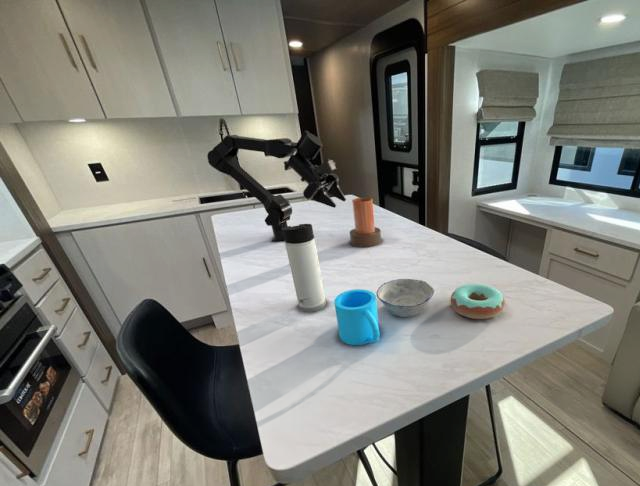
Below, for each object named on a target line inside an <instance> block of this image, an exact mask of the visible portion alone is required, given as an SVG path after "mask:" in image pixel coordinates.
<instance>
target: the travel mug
mask: <svg viewBox="0 0 640 486" xmlns="http://www.w3.org/2000/svg"><path fill="white" fill-rule="evenodd" d="M282 231H283V235H284V245H285V250H286V254H287V260H288V264H289V268H290V273H291V277H292V281H293V285H294V291H295V295H296V300H297V304H298V308H299V309H300V310H301V311H302V312H307V313H310V312H311V313H313V312H316V311H319V310H322V309H323V308H324V307H325V306H326V298H325V291H324V284H323V279H322V274H321V273H322V272H321V268H320V263H319V257H318V256H319V255H318V251H317V244H316V240H315V236H314V229H313V225H312V223H301V224H300V223H299V224H298V225H293V226H291V225H288V227H284V228H282Z"/></svg>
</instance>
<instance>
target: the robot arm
mask: <svg viewBox="0 0 640 486" xmlns="http://www.w3.org/2000/svg"><path fill="white" fill-rule="evenodd" d="M323 146H324V143H323V142H322V140H321V139H320V138H319V137H318V136H316V135H315V134H312V133H311V132H310V131H308V130H303V131H302V133H301V136H300V137H299V140H298V141H297V142H296V141H295V142H293V141H292V139H291V138H288V137H283V138H272V139H266V138H257V137H250V136H242V135H240V136H239V135H237V134H228V135H225V136H224V137H223V138H222V140H221V141H220V142H219V143H217V145H215V146H214V147H213V148H212V149H211V150H209V151H208V153H207V154H206V156H207V163H208V164H209V165H210V167H212V168H213V169H215V170H216V171H218V172H219V173H222V174H224V175H227V176H229V177H231V178H232V179H233V180H235V181H236V182H237V183H238V184H239V185H240V186H242V188H244V189H245V190H246V191H247V192H248V193H249V194H251V195H252V196H253V197H254V198H255V199H256V200H258V201H259V202H260V203H261V204H262V205H263V208H264V210H265V212H266V213H267V215H266V217H265V218H264V222H265V225H266V226H267V227H268V226H269V227H271V229H272V234H273V237H272V239H271V242H285V240H284V235H283V231H282V228H284V227H288V226H289V225H288V221H290V220H291V215H292V214H293V207H292V205H291V204H290V201H289V200H287V199H286V198H285V197H284V195H282V194H281V193H280V194H278V195H274V194H272V193H271V191H269V190H268V189H267V188H266V187H264V186H263V185H262V184H261V183H260V182H259V181H257V180H256V179H255V178H254V177H253V176H252V175H251V174H249V172H247V171H246V170H245V169H243V167H241V165H240V163H239V160H238V158H237V156H238V154H239V150H243V151H245V150H246V151H251V152H261V153H264V154H267V155H269V156H270V157H273V158H276V159H285V158H288V160H286V161H283V166H284V167H283V168H284V171H289V170H293V171H294V172H295V173H296V174H297V175H298V176H299V177H300V181H301V182H302V183H304V182H306V183H307V185H306V187H305V188H304V190H303V191H302V194H303V197H304V198H305V199H306V200H308V201H309V200H311V202H312V201H313V202H315V203H316V202H317V203H320V204H322V205H324V206H325V205H326V206H327V207H330V208H333V209H335V208H336V207H337V204H336V203H335V202H334V200H333V199H332V198H331V197H330V195H331V196H332V197H335V198H336V199H338V200H340V201H342V202H346V200H347V198H346V197H345V195H344V193H343V191H342V189H341V188H340V185H339V182H340V177H339V175H337V173H336V172H335V173H333V172H332V171H336V170H337V167H336V164H337V163H336V162H335V161H334V159H330V158H327V159H325V160H324V161H323V162H322V163H321V164H320V165H317V164H312V162H310V160H314V159H315V158H316V157H317V155H318V153H319V152H320V150H321V149H322V148H323ZM331 172H332V173H331ZM329 173H330V174H329Z"/></svg>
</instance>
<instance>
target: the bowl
mask: <svg viewBox="0 0 640 486" xmlns="http://www.w3.org/2000/svg"><path fill="white" fill-rule="evenodd" d="M434 293H435V289H434V288H433V287H432V285H430V284H429V283H428V282H426V281H424V280H422V279H415V278H414V279H413V278H400V279H399V278H398V279H392V280H389V281H386V282H384V283H383V284H381V285H380V286H379V287H378V289H377V290H376V298H377V299H378V300H379V301H380V302H381V303H382V304H383V305H384V306H385V308H386V309H387V311H388V312H389V313H391V314H392V315H393V316H395V317H399V318H412V317H415V316H417V315H419V314H421V312H423V310H424V309H425V308H426V306H427V305H428V304H429V302H430V300H431V299H432V297H433V296H434Z"/></svg>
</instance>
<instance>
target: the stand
mask: <svg viewBox="0 0 640 486" xmlns="http://www.w3.org/2000/svg"><path fill="white" fill-rule="evenodd" d="M374 227H375V231H374V232H372V233H369V234H358V233H356V230H355V228H352V229H351V230H350V231H349V237H350V244H351V245H352V246H354V247H357V248H358V247H359V248H368V247H369V248H370V247H375V246H377V245H379V244H381V243H382V232H381V231H382V230H381V228H379V227H376V226H374Z"/></svg>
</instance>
